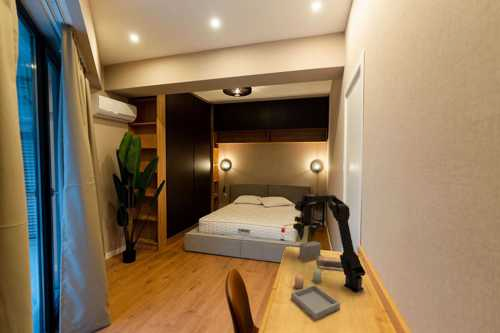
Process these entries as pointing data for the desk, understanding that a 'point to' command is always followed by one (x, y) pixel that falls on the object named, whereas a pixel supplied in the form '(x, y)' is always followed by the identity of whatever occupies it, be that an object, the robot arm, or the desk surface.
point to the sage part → (317, 275)
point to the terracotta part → (299, 281)
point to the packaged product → (329, 263)
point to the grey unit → (309, 251)
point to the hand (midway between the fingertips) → (306, 238)
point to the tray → (315, 301)
